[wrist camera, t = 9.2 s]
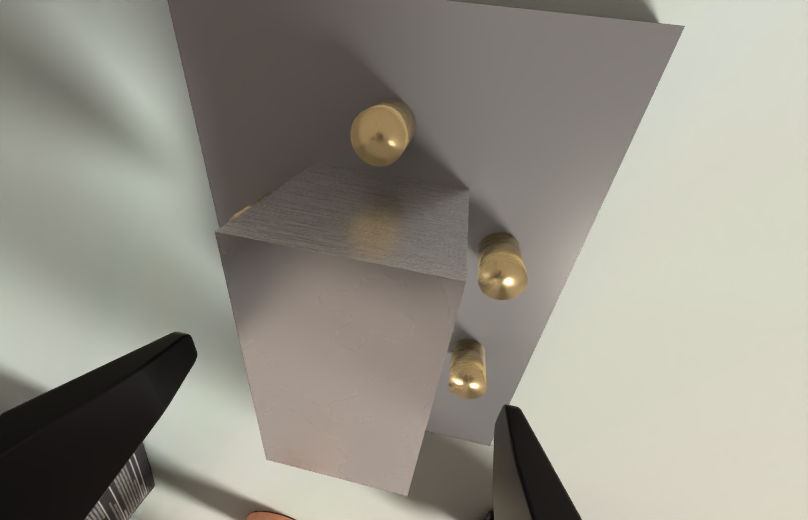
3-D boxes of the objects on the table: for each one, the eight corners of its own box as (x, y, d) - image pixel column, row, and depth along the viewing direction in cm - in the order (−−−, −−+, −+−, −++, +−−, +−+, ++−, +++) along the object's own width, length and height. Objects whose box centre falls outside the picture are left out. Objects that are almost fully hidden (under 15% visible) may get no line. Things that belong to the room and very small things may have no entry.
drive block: (469, 189, 10) (465, 281, 6) (425, 374, 15) (407, 496, 11) (315, 162, 11) (214, 231, 6) (321, 350, 16) (266, 459, 11)
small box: (67, 406, 27) (-134, 580, 18) (143, 434, 27) (-17, 620, 18) (94, 463, 32) (-47, 615, 24) (157, 485, 33) (40, 644, 24)
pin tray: (663, 28, 8) (738, 18, 6) (488, 427, 18) (491, 483, 16) (188, -24, 9) (94, -49, 7) (266, 376, 19) (237, 421, 17)
